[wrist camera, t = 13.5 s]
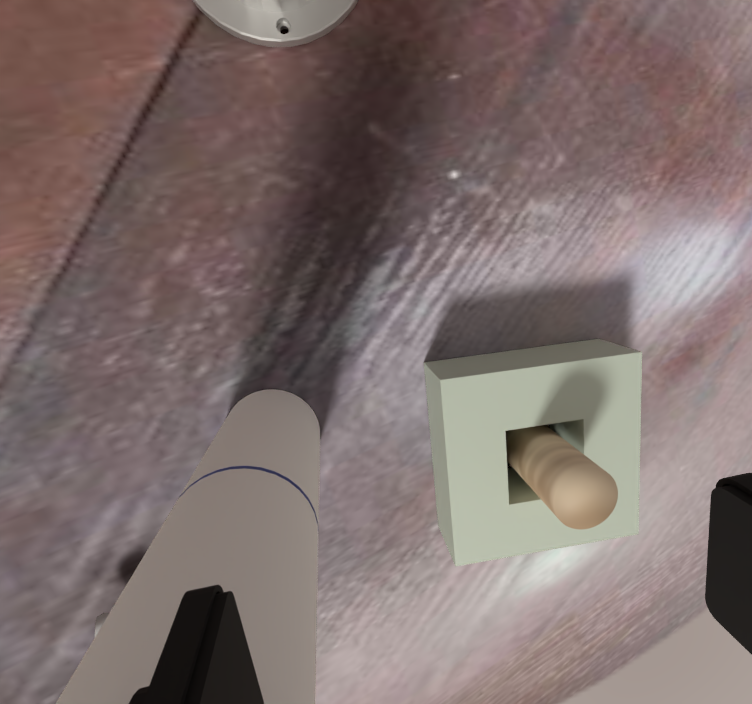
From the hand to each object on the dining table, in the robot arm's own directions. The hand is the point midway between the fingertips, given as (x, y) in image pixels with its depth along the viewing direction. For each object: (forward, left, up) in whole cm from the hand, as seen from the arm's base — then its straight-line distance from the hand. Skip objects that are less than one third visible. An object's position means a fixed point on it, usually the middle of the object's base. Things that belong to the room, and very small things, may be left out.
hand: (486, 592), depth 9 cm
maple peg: (+9, +11, -26) cm, 29 cm away
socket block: (+9, +11, -26) cm, 29 cm away
